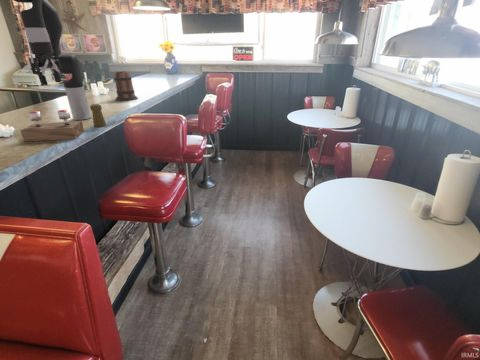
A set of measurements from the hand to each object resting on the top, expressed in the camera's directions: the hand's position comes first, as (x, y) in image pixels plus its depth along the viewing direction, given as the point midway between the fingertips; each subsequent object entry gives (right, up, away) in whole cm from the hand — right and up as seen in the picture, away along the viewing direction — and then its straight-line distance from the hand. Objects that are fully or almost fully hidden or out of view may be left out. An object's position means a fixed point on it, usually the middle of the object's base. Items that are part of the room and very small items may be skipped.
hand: (51, 83), depth 119 cm
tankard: (-9, +23, +103) cm, 106 cm away
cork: (+7, -13, +27) cm, 31 cm away
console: (-5, -21, +11) cm, 24 cm away
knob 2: (+1, -16, +9) cm, 18 cm away
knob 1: (-11, -17, +8) cm, 21 cm away
